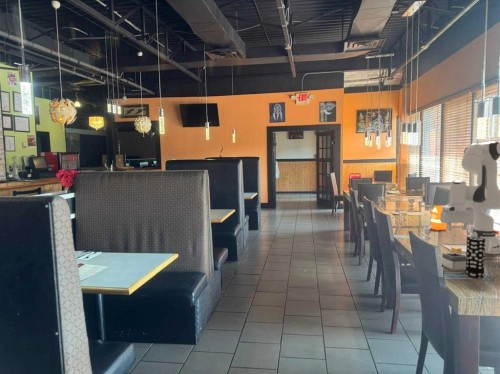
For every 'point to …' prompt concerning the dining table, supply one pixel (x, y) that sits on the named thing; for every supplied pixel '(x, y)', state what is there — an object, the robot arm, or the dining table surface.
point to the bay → (453, 265)
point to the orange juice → (437, 219)
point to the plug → (456, 250)
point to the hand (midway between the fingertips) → (456, 230)
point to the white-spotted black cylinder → (475, 257)
